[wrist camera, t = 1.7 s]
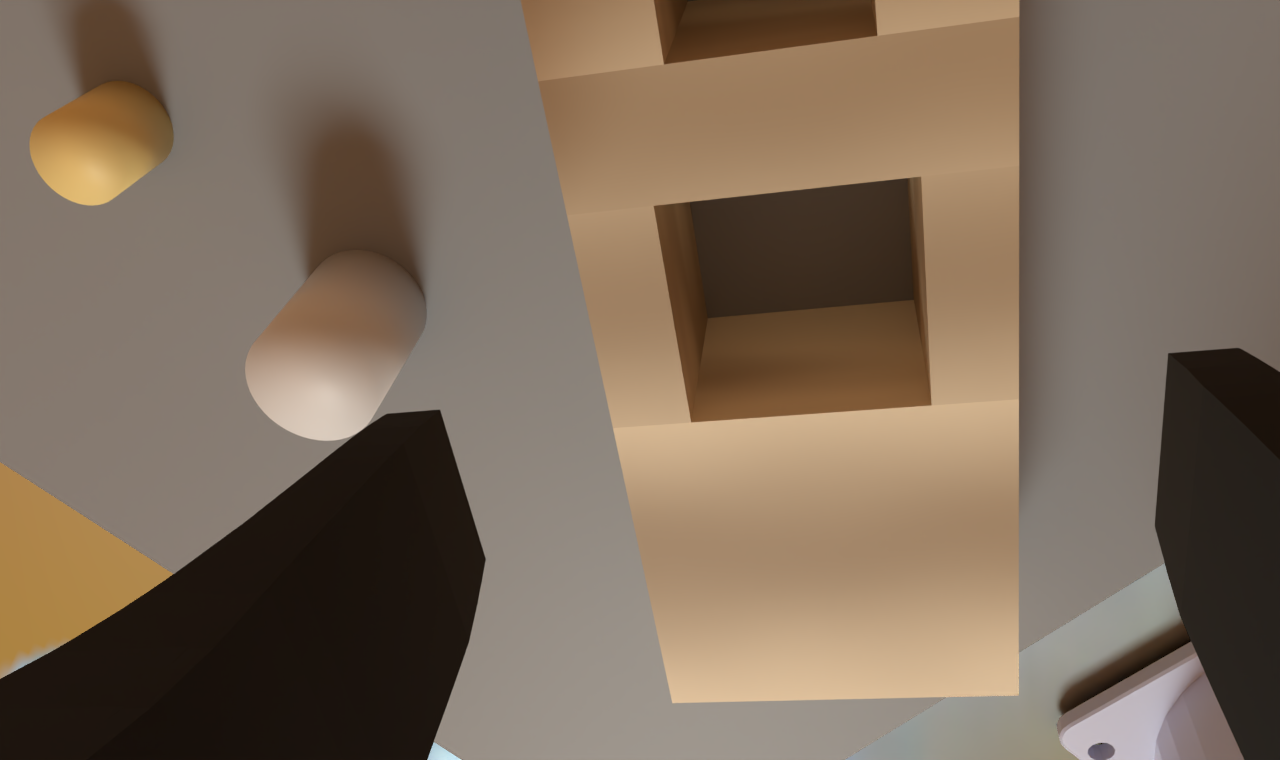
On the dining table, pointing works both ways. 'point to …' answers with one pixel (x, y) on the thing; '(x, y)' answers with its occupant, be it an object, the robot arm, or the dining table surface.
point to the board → (568, 308)
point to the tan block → (804, 336)
